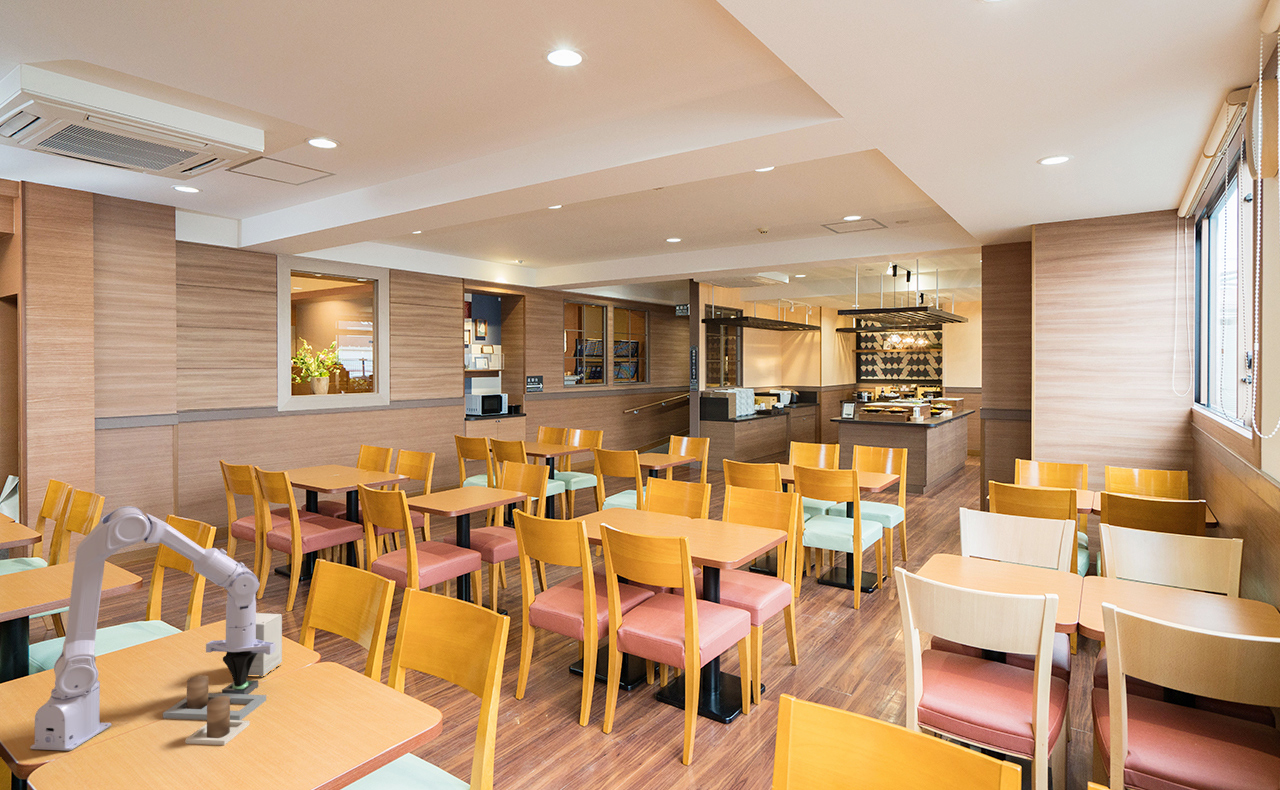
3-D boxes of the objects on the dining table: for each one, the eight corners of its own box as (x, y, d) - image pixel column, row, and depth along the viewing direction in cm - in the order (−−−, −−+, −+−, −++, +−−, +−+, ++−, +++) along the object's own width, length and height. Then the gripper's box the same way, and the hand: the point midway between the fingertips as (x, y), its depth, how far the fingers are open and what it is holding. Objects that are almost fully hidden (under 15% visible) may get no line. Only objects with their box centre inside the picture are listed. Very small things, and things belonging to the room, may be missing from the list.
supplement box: (283, 665, 164) (283, 613, 164) (263, 678, 157) (263, 624, 156) (254, 663, 165) (255, 611, 164) (233, 676, 157) (233, 622, 157)
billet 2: (221, 739, 129) (221, 705, 129) (202, 738, 129) (202, 704, 129) (234, 729, 133) (234, 696, 133) (215, 728, 133) (215, 695, 133)
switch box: (244, 698, 146) (244, 690, 146) (221, 697, 147) (221, 689, 147) (258, 688, 151) (258, 680, 151) (236, 687, 152) (236, 679, 152)
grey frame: (239, 723, 136) (239, 715, 136) (162, 719, 137) (163, 712, 137) (266, 702, 145) (266, 695, 145) (194, 699, 146) (194, 692, 146)
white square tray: (224, 747, 127) (224, 740, 127) (185, 745, 128) (185, 739, 128) (249, 726, 135) (249, 720, 135) (212, 725, 135) (212, 719, 135)
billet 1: (200, 714, 139) (200, 683, 139) (182, 714, 139) (182, 683, 139) (212, 706, 143) (212, 675, 143) (195, 705, 143) (195, 675, 143)
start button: (242, 695, 147) (242, 687, 147) (229, 695, 148) (229, 687, 148) (251, 689, 150) (251, 681, 150) (238, 689, 151) (238, 681, 150)
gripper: (283, 618, 152) (282, 677, 153) (221, 616, 153) (220, 675, 153) (264, 629, 145) (264, 691, 146) (199, 627, 146) (199, 689, 146)
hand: (240, 684), depth 149 cm, fingers closed, pressing on start button
